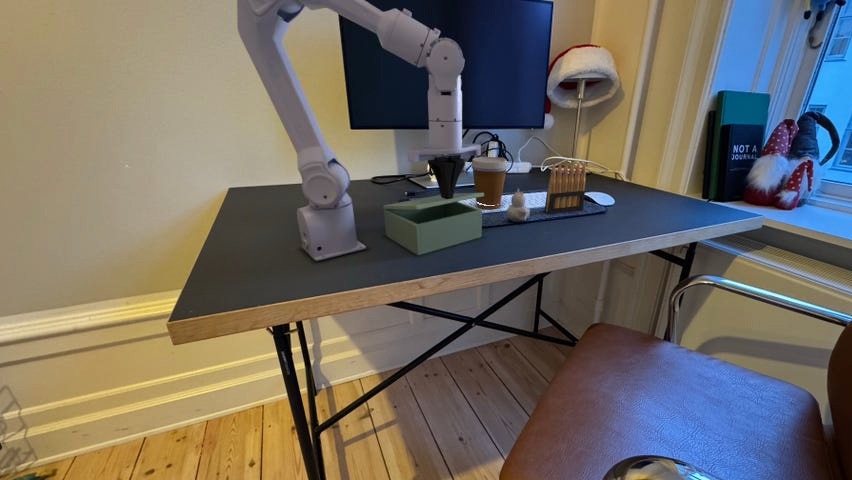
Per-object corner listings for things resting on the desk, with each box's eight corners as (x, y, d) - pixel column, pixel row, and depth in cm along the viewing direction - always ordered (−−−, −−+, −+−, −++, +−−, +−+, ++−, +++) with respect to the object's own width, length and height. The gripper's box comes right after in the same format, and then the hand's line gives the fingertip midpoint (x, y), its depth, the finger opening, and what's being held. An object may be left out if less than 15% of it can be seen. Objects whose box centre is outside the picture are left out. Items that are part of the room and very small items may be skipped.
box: (481, 237, 77) (482, 210, 75) (418, 255, 68) (416, 226, 66) (446, 221, 86) (446, 197, 83) (386, 236, 77) (383, 209, 74)
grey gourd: (521, 216, 90) (524, 184, 87) (534, 225, 85) (537, 190, 81) (501, 218, 88) (503, 185, 85) (513, 227, 83) (515, 192, 79)
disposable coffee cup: (506, 211, 93) (509, 163, 88) (469, 210, 94) (469, 162, 88) (505, 201, 102) (507, 157, 97) (471, 200, 102) (471, 156, 97)
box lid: (484, 196, 73) (483, 192, 73) (416, 209, 64) (416, 205, 64) (446, 196, 83) (446, 193, 83) (383, 209, 74) (382, 205, 74)
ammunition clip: (547, 213, 93) (552, 165, 87) (544, 211, 94) (548, 163, 89) (583, 209, 96) (590, 163, 91) (578, 207, 98) (585, 161, 92)
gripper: (465, 117, 70) (465, 188, 76) (396, 120, 62) (402, 198, 68) (488, 120, 65) (486, 195, 71) (417, 123, 57) (422, 208, 63)
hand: (447, 197), depth 69 cm, fingers closed, pressing on box lid
